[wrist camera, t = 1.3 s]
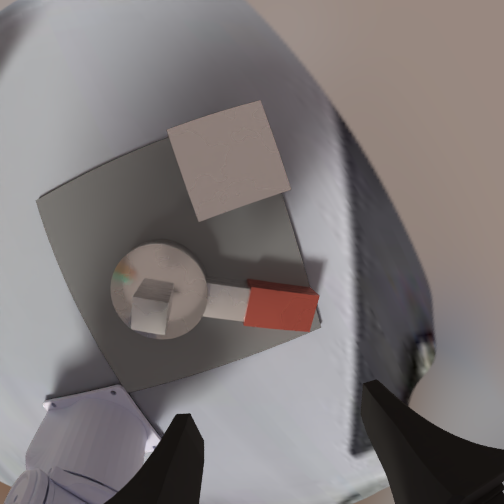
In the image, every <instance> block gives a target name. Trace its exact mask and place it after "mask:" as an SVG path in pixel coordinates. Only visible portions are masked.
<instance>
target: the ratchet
mask: <svg viewBox="0 0 504 504" xmlns="http://www.w3.org/2000/svg"><path fill="white" fill-rule="evenodd" d="M110 288H111V299H112V302H113V305H114V308H115V310H116V312H117V314H118V315H119V317H120V318H121V320H122V321H123V322H124V323H125V324H126V325H127V326H128V327H129V328H131V329H132V330H133V331H135V332H137V333H139V334H141V335H143V336H145V337H148V338H153V339H172V338H176V337H179V336H182V335H184V334H186V333H187V332H189V331H190V330H191V329H193V328H194V327H195V326H196V325H197V324H198V322H199V321H200V320H201V318H202V316H204V317H211V318H219V319H226V320H234V321H242V322H243V325H244V326H250V327H259V328H269V329H280V330H291V331H303V332H310V329H311V325H312V322H313V318H314V314H315V311H316V307H317V303H318V300H319V295H318V294H317V293H316V292H315V291H314V290H313V289H311V288H310V287H304V286H296V285H289V284H282V283H275V282H267V281H260V280H254V279H247V281H240V280H233V279H227V278H220V277H213V276H207V275H206V273H205V270H204V268H203V265H202V263H201V262H200V260H199V259H198V258H197V256H196V255H195V254H194V253H193V252H192V251H191V250H190V249H188V248H187V247H185V246H184V245H182V244H180V243H177V242H175V241H171V240H165V239H155V240H150V241H147V242H144V243H142V244H140V245H138V246H137V247H135V248H134V249H133V250H131V251H130V252H129V253H128V254H127V255H126V256H125V257H124V258H122V260H121V261H120V262H119V263H118V265H117V267H116V268H115V270H114V273H113V275H112V279H111V286H110Z"/></svg>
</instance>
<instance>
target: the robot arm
mask: <svg viewBox="0 0 504 504" xmlns="http://www.w3.org/2000/svg"><path fill="white" fill-rule="evenodd" d="M113 391H115V392H116V393H114V392H113ZM55 404H56V405H55ZM43 406H44V408H45V409H46V410H47V414H46V416H45V418H44V419H43V421H42V423H41V425H40V427H39V429H38V430H37V432H36V434H35V436H34V438H33V440H32V442H31V444H30V446H29V448H28V450H27V453H26V471H24V472H23V473H22V474H21V475H20V476H19V478H18V479H17V480H16V482H15V483H14V485H13V486H12V488H11V490H10V491H9V493H8V495H7V498H6V500H5V502H4V504H199V498H200V490H201V483H202V475H203V466H204V440H203V438H202V436H201V434H200V432H199V430H198V428H197V426H196V424H195V422H194V420H193V418H192V416H191V414H190V413H188V414H176V415H175V417H174V419H173V420H172V422H171V424H170V425H169V427H168V429H167V430H166V432H165V434H164V435H163V437H162V439H161V437H160V436H159V435H158V434H157V432H156V431H155V430H154V428H153V427H152V426H151V425H150V423H149V422H148V421H147V419H146V418H145V417H144V415H143V414H142V412H141V411H140V410H139V408H138V407H137V406H136V404H135V403H134V401H133V400H132V398H131V397H130V395H129V394H128V393H127V392H126V390H125V389H124V387H123V386H121V385H113V386H109V387H105V388H101V389H97V390H92V391H88V392H84V393H79V394H74V395H70V396H65V397H60V398H55V399H49V400H45V401H44V402H43ZM361 417H362V420H363V423H364V426H365V429H366V432H367V435H368V437H369V439H370V441H371V443H372V445H373V447H374V450H375V452H376V454H377V456H378V458H379V460H380V462H381V464H382V466H383V469H384V471H385V473H386V476H387V478H388V481H389V485H390V488H391V491H392V494H393V498H394V501H395V504H504V493H503V492H502V491H503V490H504V485H503V484H502V482H503V481H504V450H502V449H497V448H492V447H487V446H483V445H479V444H476V443H473V442H470V441H468V440H465V439H462V438H460V437H457V436H455V435H453V434H451V433H449V432H447V431H445V430H443V429H441V428H439V427H437V426H436V425H434V424H432V423H431V422H429V421H427V420H426V419H425V418H423V417H421V416H420V415H419V414H417V413H416V412H415V411H413V410H412V409H411V408H409V407H408V406H407V405H406V404H404V403H403V402H402V401H401V400H400V399H398V398H397V397H396V396H395V395H394V394H393V393H391V392H390V391H389V390H388V389H387V388H386V387H385V386H384V385H383V384H382V383H380V382H379V381H378V380H377V379H376V380H373V381H370V382H366V383H363V391H362V404H361ZM152 451H153V452H152ZM146 452H152V454H151V455H150V457H149V458H148V459H147V461H146V462H145V463H144V465H143V461H144V454H145V453H146Z"/></svg>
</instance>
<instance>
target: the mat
mask: <svg viewBox="0 0 504 504" xmlns="http://www.w3.org/2000/svg"><path fill="white" fill-rule="evenodd" d="M36 203H37V206H38V209H39V213H40V216H41V219H42V222H43V225H44V228H45V231H46V233H47V236H48V239H49V242H50V244H51V247H52V250H53V252H54V255H55V257H56V260H57V262H58V265H59V267H60V270H61V272H62V274H63V277H64V279H65V281H66V283H67V286H68V288H69V290H70V292H71V294H72V297H73V299H74V301H75V303H76V305H77V307H78V309H79V311H80V313H81V315H82V317H83V319H84V321H85V323H86V325H87V327H88V328H89V330H90V332H91V334H92V336H93V338H94V339H95V341H96V343H97V345H98V347H99V348H100V350H101V352H102V353H103V355H104V357H105V359H106V360H107V362H108V364H109V365H110V367H111V368H112V370H113V372H114V373H115V375H116V376H117V378H118V379H119V381H120V383H121V384H122V386H123V387H124V389H125V390H126V392H127V393H130V392H134V391H138V390H142V389H146V388H150V387H153V386H157V385H161V384H164V383H168V382H171V381H175V380H178V379H181V378H185V377H188V376H191V375H194V374H198V373H201V372H204V371H207V370H210V369H213V368H216V367H219V366H222V365H225V364H228V363H231V362H234V361H237V360H240V359H242V358H245V357H248V356H251V355H253V354H256V353H259V352H262V351H264V350H267V349H269V348H272V347H275V346H277V345H280V344H282V343H285V342H287V341H290V340H292V339H295V338H297V337H300V336H302V335H305V334H307V333H309V332H303V331H291V330H280V329H269V328H259V327H250V326H244V325H243V322H242V321H234V320H226V319H219V318H211V317H204V316H202V318H201V320H200V321H199V322H198V324H197V325H196V326H195V327H194V328H193V329H191V330H190V331H189V332H187V333H186V334H184V335H182V336H179V337H176V338H172V339H153V338H148V337H145V336H143V335H141V334H139V333H137V332H135V331H133V330H132V329H131V328H129V327H128V326H127V325H126V324H125V323H124V322H123V321H122V320H121V318H120V317H119V315H118V314H117V312H116V310H115V308H114V305H113V302H112V299H111V288H110V286H111V279H112V275H113V273H114V270H115V268H116V267H117V265H118V263H119V262H120V261H121V260H122V258H124V257H125V256H126V255H127V254H128V253H129V252H130V251H131V250H133V249H134V248H135V247H137V246H138V245H140V244H142V243H144V242H147V241H150V240H155V239H165V240H171V241H175V242H177V243H180V244H182V245H184V246H185V247H187V248H188V249H190V250H191V251H192V252H193V253H194V254H195V255H196V256H197V258H198V259H199V260H200V262H201V263H202V265H203V268H204V270H205V273H206V275H207V276H213V277H220V278H227V279H233V280H240V281H247V279H254V280H260V281H267V282H275V283H282V284H289V285H296V286H304V287H310V285H309V282H308V278H307V275H306V271H305V268H304V265H303V261H302V258H301V254H300V251H299V248H298V244H297V241H296V238H295V235H294V231H293V228H292V225H291V222H290V219H289V215H288V212H287V209H286V206H285V203H284V200H283V197H282V193H279V194H277V195H274V196H271V197H268V198H265V199H262V200H259V201H256V202H253V203H250V204H247V205H245V206H242V207H239V208H236V209H233V210H231V211H228V212H225V213H222V214H219V215H217V216H214V217H211V218H208V219H206V220H203V221H200V222H199V221H198V219H197V216H196V213H195V210H194V208H193V205H192V202H191V199H190V197H189V194H188V191H187V188H186V185H185V182H184V180H183V177H182V174H181V171H180V168H179V165H178V162H177V159H176V156H175V153H174V150H173V147H172V144H171V141H170V138H169V137H168V138H165V139H163V140H160V141H158V142H155V143H153V144H150V145H148V146H145V147H143V148H140V149H138V150H136V151H133V152H131V153H129V154H126V155H124V156H122V157H120V158H117V159H115V160H113V161H111V162H109V163H106V164H104V165H102V166H100V167H98V168H96V169H94V170H92V171H90V172H88V173H86V174H84V175H82V176H80V177H78V178H76V179H74V180H72V181H70V182H68V183H67V184H65V185H63V186H61V187H59V188H57V189H56V190H54V191H52V192H50V193H48V194H47V195H45V196H43V197H42V198H40V199H38V200H36ZM319 328H321V325H320V321H319V318H318V314H317V310H316V311H315V314H314V318H313V322H312V325H311V329H310V332H312V331H314V330H316V329H319Z"/></svg>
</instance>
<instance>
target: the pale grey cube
mask: <svg viewBox="0 0 504 504" xmlns="http://www.w3.org/2000/svg"><path fill="white" fill-rule="evenodd" d="M167 132H168V135H169V138H170V141H171V144H172V147H173V150H174V153H175V156H176V159H177V162H178V165H179V168H180V171H181V174H182V177H183V180H184V182H185V185H186V188H187V191H188V194H189V197H190V199H191V202H192V205H193V208H194V210H195V213H196V216H197V219H198V221H199V222H200V221H203V220H206V219H208V218H211V217H214V216H217V215H219V214H222V213H225V212H228V211H231V210H233V209H236V208H239V207H242V206H245V205H247V204H250V203H253V202H256V201H259V200H262V199H265V198H268V197H271V196H274V195H277V194H279V193H282V192H285V191H288V190H291V187H290V184H289V181H288V178H287V175H286V172H285V169H284V166H283V163H282V160H281V157H280V154H279V151H278V148H277V145H276V142H275V139H274V136H273V134H272V131H271V128H270V125H269V122H268V120H267V117H266V114H265V111H264V109H263V106H262V103H261V100H259V101H255V102H252V103H248V104H244V105H241V106H237V107H234V108H230V109H227V110H223V111H220V112H217V113H214V114H211V115H207V116H204V117H201V118H198V119H195V120H192V121H190V122H187V123H184V124H181V125H178V126H176V127H173V128H170V129H167Z"/></svg>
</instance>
